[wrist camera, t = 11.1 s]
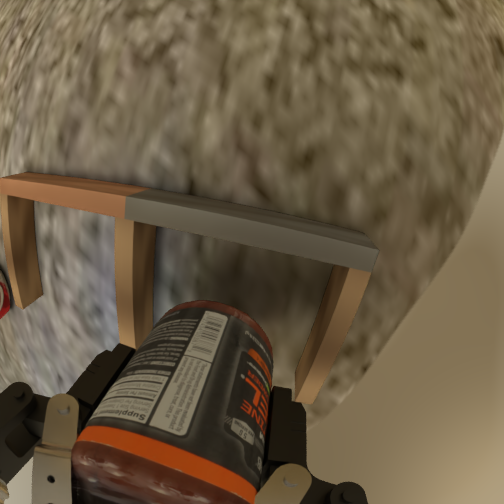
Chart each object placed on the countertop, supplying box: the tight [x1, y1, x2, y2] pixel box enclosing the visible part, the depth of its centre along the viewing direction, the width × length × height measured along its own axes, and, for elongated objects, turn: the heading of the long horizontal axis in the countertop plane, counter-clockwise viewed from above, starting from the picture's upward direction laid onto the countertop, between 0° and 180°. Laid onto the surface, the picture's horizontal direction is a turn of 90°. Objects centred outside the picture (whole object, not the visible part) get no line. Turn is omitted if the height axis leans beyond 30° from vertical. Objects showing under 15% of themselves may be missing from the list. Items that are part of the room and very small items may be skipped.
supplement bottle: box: [71, 300, 273, 504], centre depth 8 cm, size 6×6×11 cm
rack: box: [0, 172, 379, 404], centre depth 16 cm, size 11×26×3 cm, turn 79°
